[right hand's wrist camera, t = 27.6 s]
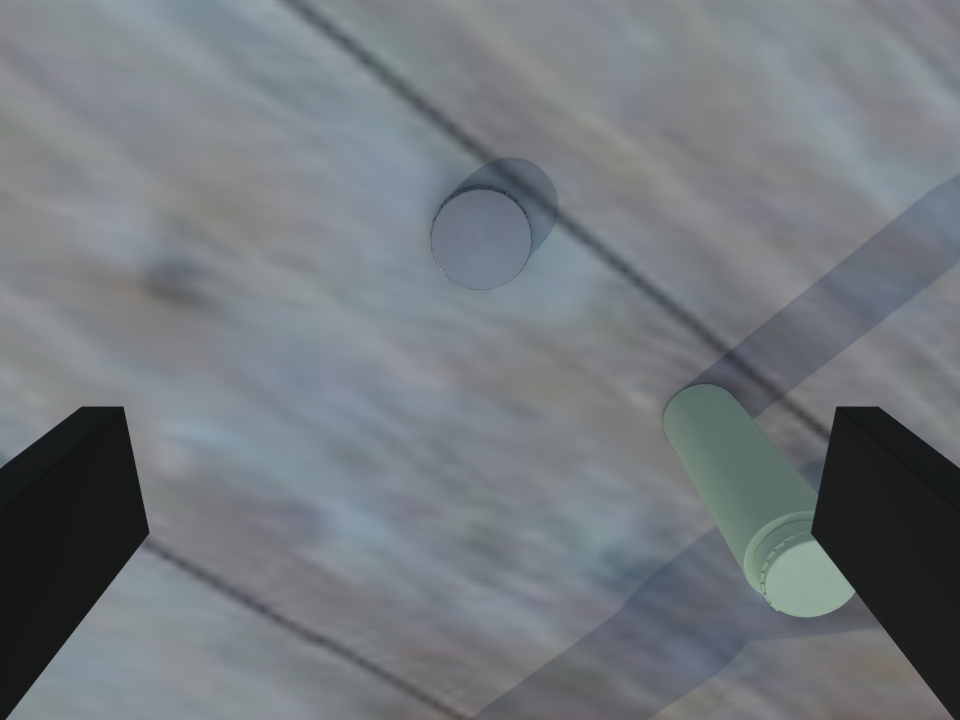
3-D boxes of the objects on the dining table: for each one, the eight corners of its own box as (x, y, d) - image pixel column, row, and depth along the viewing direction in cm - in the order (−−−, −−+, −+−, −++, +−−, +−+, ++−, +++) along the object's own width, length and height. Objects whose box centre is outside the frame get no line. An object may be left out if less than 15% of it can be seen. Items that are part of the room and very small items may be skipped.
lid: (526, 287, 38) (527, 294, 36) (429, 280, 38) (427, 287, 36) (536, 188, 36) (538, 192, 35) (434, 180, 36) (431, 184, 34)
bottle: (703, 368, 40) (824, 510, 26) (754, 415, 41) (896, 576, 27) (646, 421, 41) (732, 583, 27) (697, 465, 42) (804, 643, 28)
